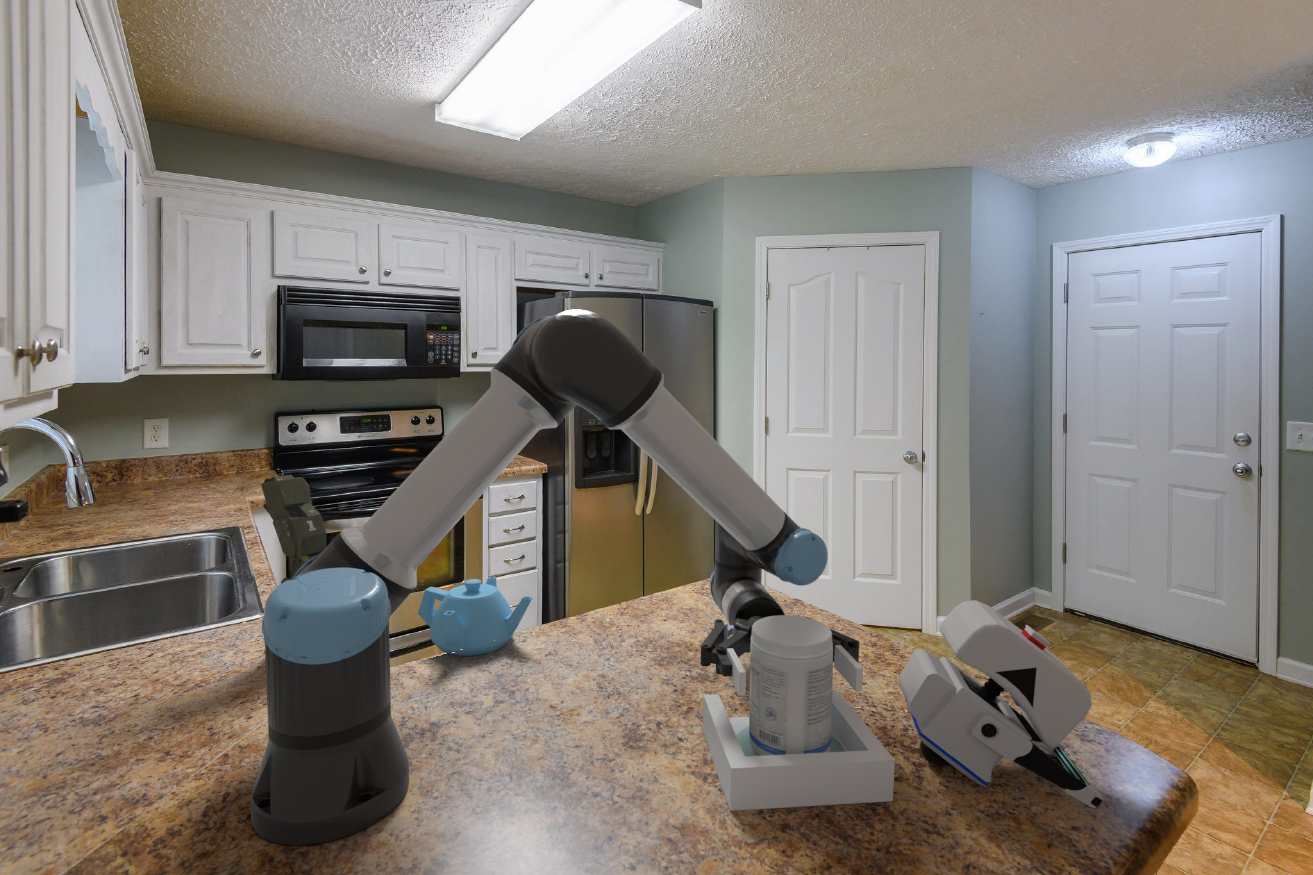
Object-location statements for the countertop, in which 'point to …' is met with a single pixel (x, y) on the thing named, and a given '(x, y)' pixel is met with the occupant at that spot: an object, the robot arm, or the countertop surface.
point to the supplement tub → (790, 686)
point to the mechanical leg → (294, 519)
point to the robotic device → (996, 701)
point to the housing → (798, 763)
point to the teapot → (471, 617)
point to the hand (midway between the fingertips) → (801, 682)
